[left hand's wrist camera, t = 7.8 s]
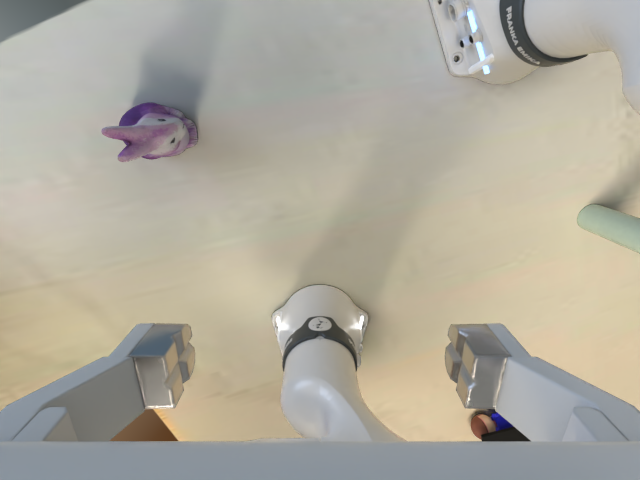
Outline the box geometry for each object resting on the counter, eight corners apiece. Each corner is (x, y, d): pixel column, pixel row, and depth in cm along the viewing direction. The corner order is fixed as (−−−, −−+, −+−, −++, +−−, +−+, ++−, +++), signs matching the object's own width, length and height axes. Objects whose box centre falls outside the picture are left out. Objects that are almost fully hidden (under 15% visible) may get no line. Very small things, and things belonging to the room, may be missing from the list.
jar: (609, 213, 59) (696, 243, 45) (588, 234, 60) (666, 269, 47) (592, 198, 58) (675, 225, 44) (571, 219, 59) (646, 251, 46)
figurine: (213, 128, 54) (175, 134, 40) (173, 173, 56) (124, 193, 42) (165, 81, 51) (107, 69, 37) (126, 129, 54) (58, 135, 40)
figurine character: (528, 388, 74) (464, 410, 74) (555, 416, 67) (483, 440, 67) (531, 411, 77) (468, 431, 77) (557, 440, 69) (488, 463, 69)
